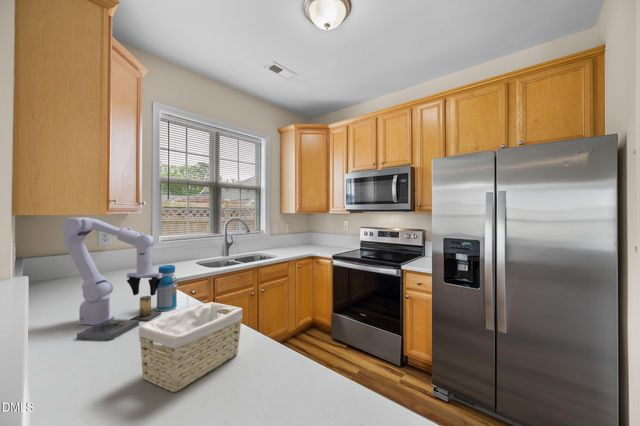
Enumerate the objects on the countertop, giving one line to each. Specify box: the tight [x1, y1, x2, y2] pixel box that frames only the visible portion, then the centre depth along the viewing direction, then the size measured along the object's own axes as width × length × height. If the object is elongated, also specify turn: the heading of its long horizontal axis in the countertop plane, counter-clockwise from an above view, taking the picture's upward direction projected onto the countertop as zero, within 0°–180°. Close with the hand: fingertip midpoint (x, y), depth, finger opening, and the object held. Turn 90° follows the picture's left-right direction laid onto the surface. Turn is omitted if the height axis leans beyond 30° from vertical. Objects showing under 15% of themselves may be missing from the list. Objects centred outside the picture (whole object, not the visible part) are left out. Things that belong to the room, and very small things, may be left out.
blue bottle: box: [156, 264, 178, 312], centre depth 126 cm, size 8×8×20 cm
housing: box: [76, 319, 140, 341], centre depth 101 cm, size 13×13×2 cm
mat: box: [129, 311, 162, 322], centre depth 115 cm, size 8×8×1 cm
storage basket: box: [138, 301, 243, 393], centre depth 78 cm, size 24×16×15 cm
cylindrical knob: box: [139, 295, 152, 318], centre depth 115 cm, size 4×4×8 cm
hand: (144, 294), depth 115 cm, fingers open, 7 cm apart
